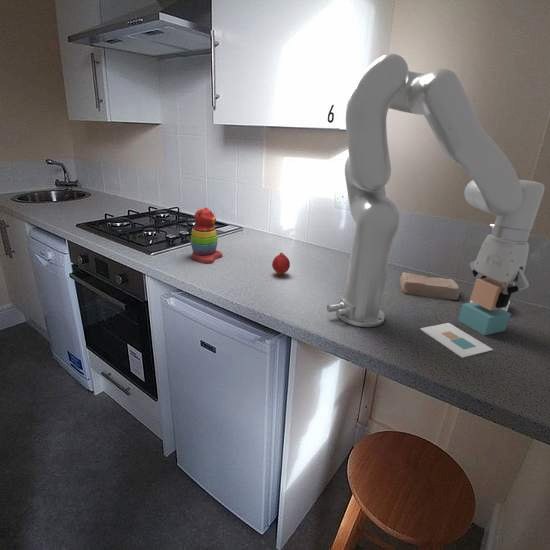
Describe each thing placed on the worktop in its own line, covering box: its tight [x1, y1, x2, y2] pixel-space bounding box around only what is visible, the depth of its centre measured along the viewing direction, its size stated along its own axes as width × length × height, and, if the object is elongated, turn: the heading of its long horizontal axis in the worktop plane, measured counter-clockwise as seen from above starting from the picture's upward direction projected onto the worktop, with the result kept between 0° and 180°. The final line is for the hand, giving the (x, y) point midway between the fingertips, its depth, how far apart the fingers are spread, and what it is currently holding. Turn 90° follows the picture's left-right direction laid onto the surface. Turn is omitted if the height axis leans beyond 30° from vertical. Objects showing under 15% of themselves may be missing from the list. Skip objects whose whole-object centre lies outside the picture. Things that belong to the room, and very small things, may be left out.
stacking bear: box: [190, 207, 224, 265], centre depth 127 cm, size 11×10×18 cm
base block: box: [457, 301, 512, 336], centre depth 95 cm, size 8×8×5 cm
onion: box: [271, 251, 291, 276], centre depth 118 cm, size 6×6×8 cm
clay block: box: [469, 277, 508, 311], centre depth 92 cm, size 6×6×6 cm
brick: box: [399, 271, 460, 301], centre depth 114 cm, size 17×8×5 cm, turn 80°
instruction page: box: [419, 322, 494, 359], centre depth 88 cm, size 10×13×1 cm
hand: (488, 300), depth 93 cm, fingers closed on clay block, 6 cm apart
